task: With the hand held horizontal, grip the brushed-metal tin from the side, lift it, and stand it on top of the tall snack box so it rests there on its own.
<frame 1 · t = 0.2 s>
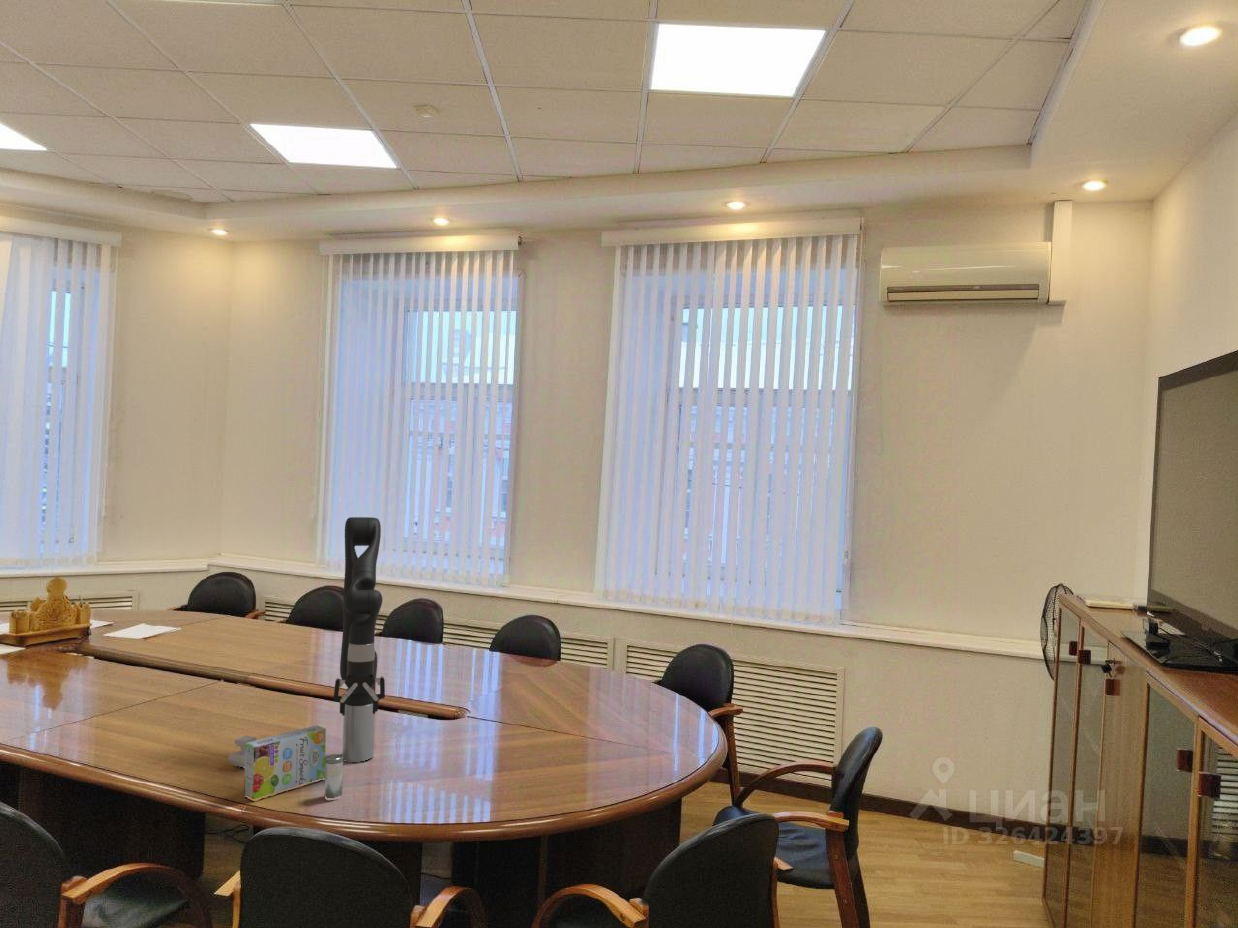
hand: (358, 713, 239), 18 cm above the table, tool pointing down, fingers open, 8 cm apart
snack box: (285, 789, 228), on the table
metal tin: (333, 797, 223), on the table
white blocky piece: (245, 766, 243), on the table
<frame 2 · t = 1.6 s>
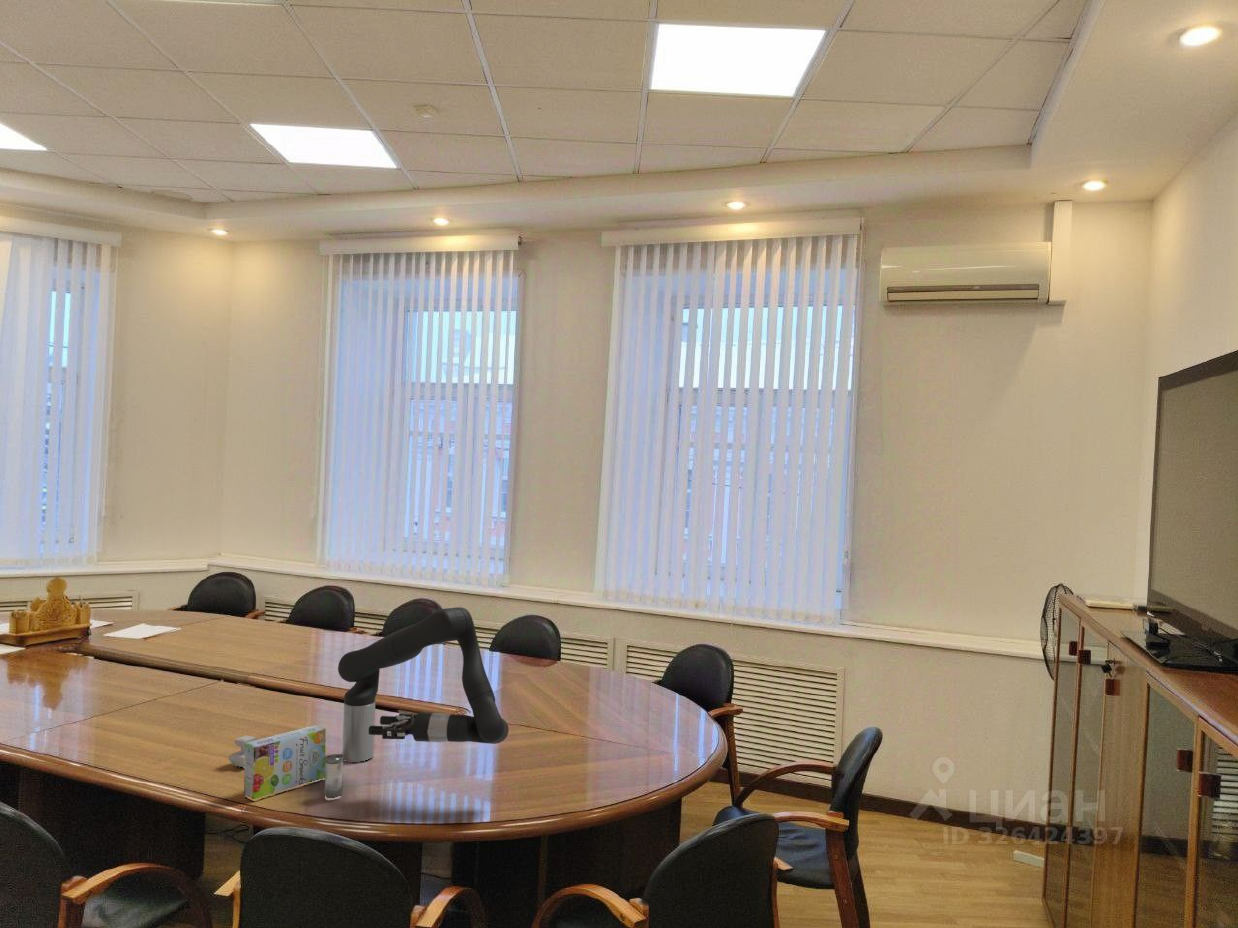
hand: (374, 724, 222), 20 cm above the table, tool horizontal, fingers open, 8 cm apart
nothing on the table moved.
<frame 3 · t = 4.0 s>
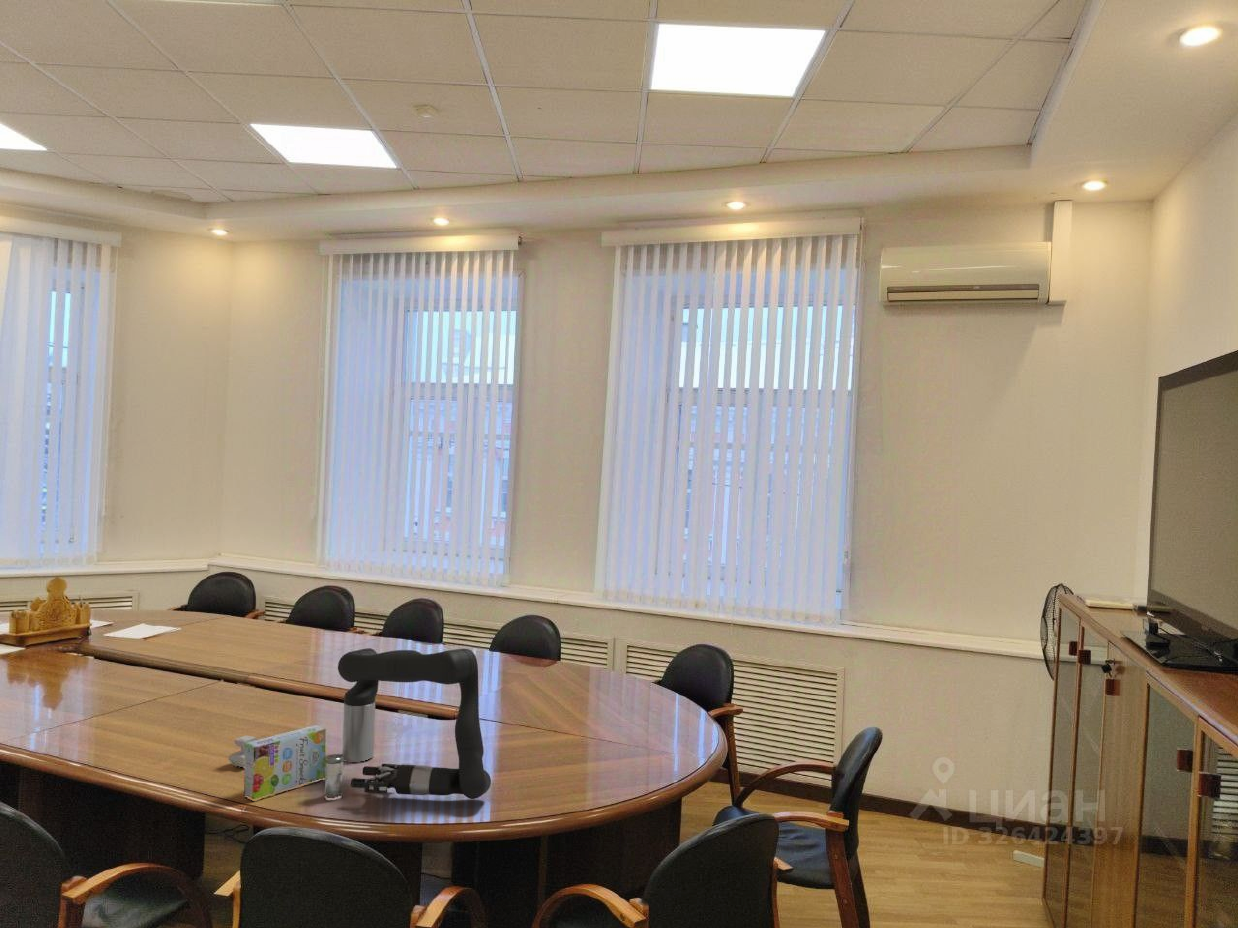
hand: (357, 776, 223), 6 cm above the table, tool horizontal, fingers open, 8 cm apart
nothing on the table moved.
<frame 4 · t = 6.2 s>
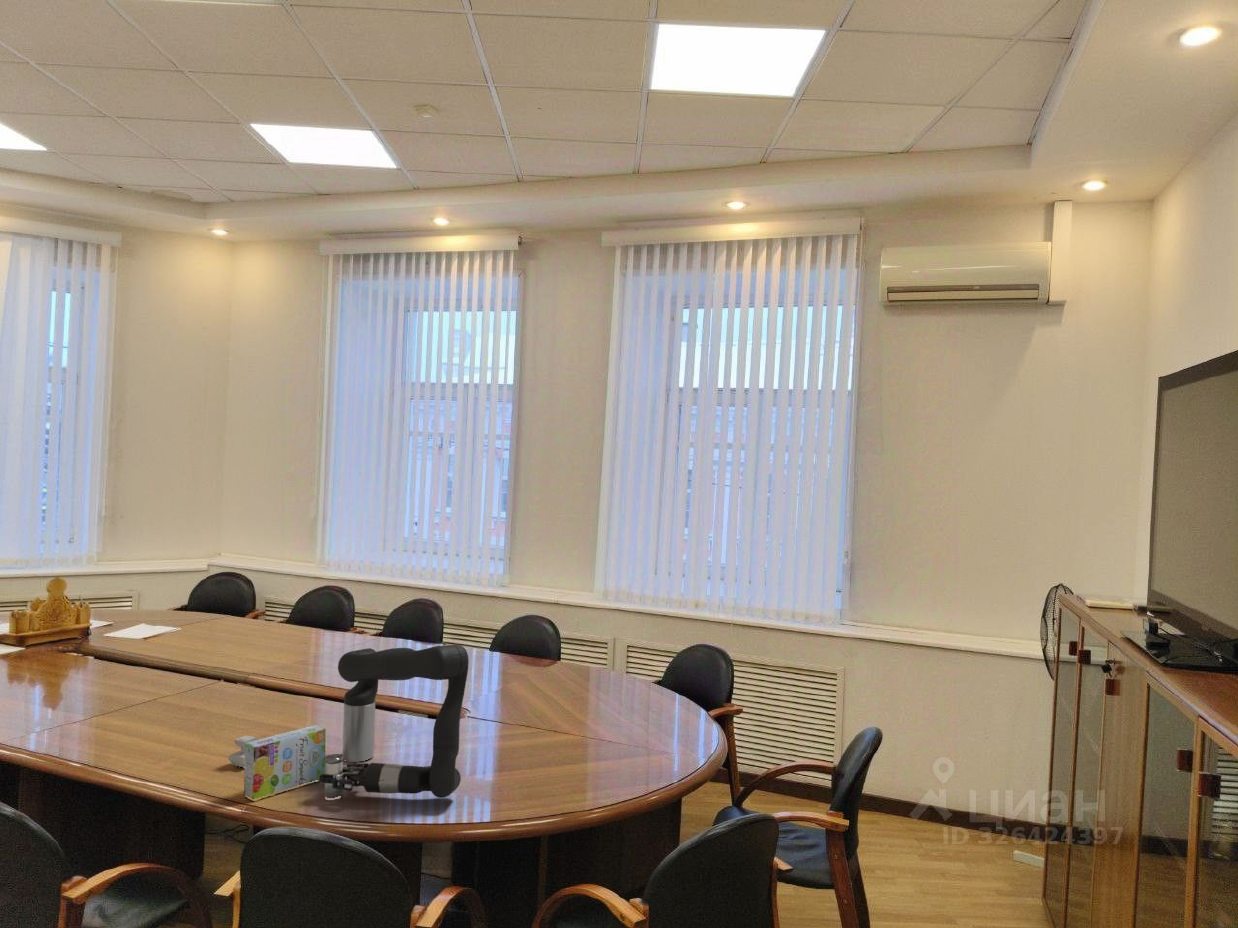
hand: (324, 774, 223), 6 cm above the table, tool horizontal, fingers closed on metal tin, 4 cm apart
metal tin: (333, 797, 223), on the table, touching gripper
everything else where it was.
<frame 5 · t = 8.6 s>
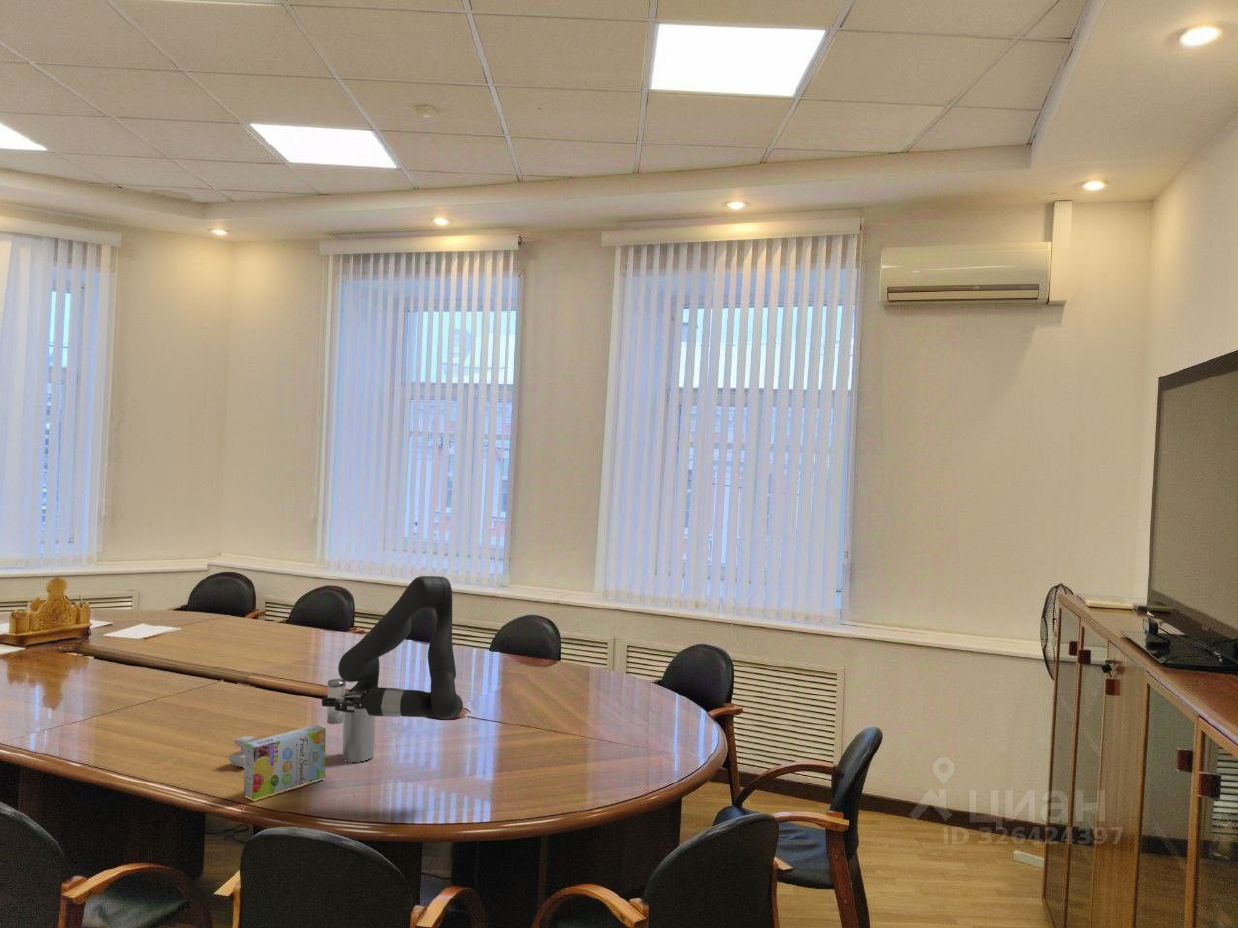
hand: (326, 698, 223), 27 cm above the table, tool horizontal, fingers closed on metal tin, 4 cm apart
metal tin: (335, 721, 223), point 21 cm above the table, touching gripper
everything else where it was.
when the fingers open (22 cm above the table, at t = 11.1 s): metal tin drops 1 cm, resting on snack box.
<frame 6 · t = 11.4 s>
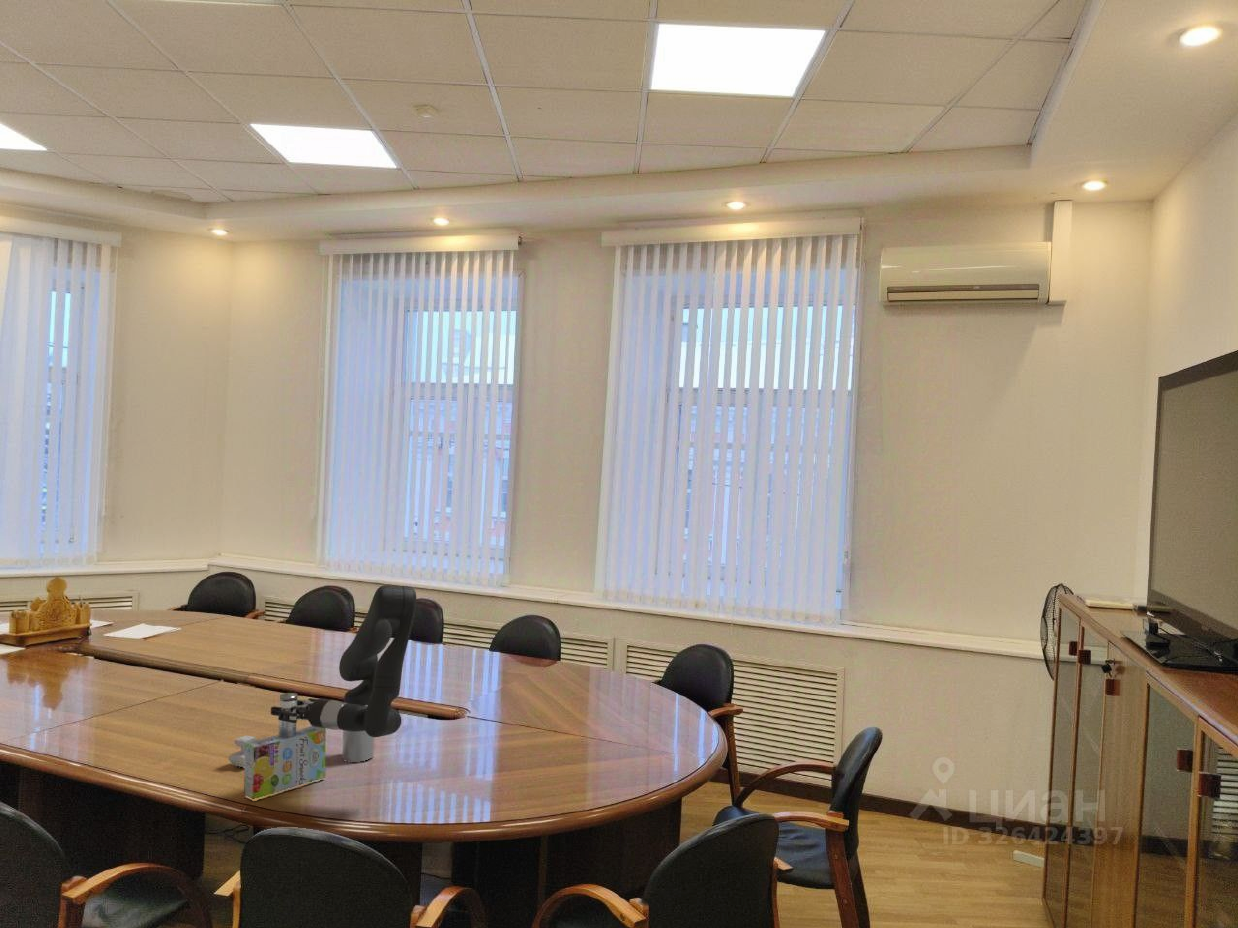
hand: (281, 706, 229), 23 cm above the table, tool horizontal, fingers open, 6 cm apart
snack box: (285, 789, 228), on the table, touching metal tin
metal tin: (287, 734, 228), point 15 cm above the table, touching snack box
everything else where it was.
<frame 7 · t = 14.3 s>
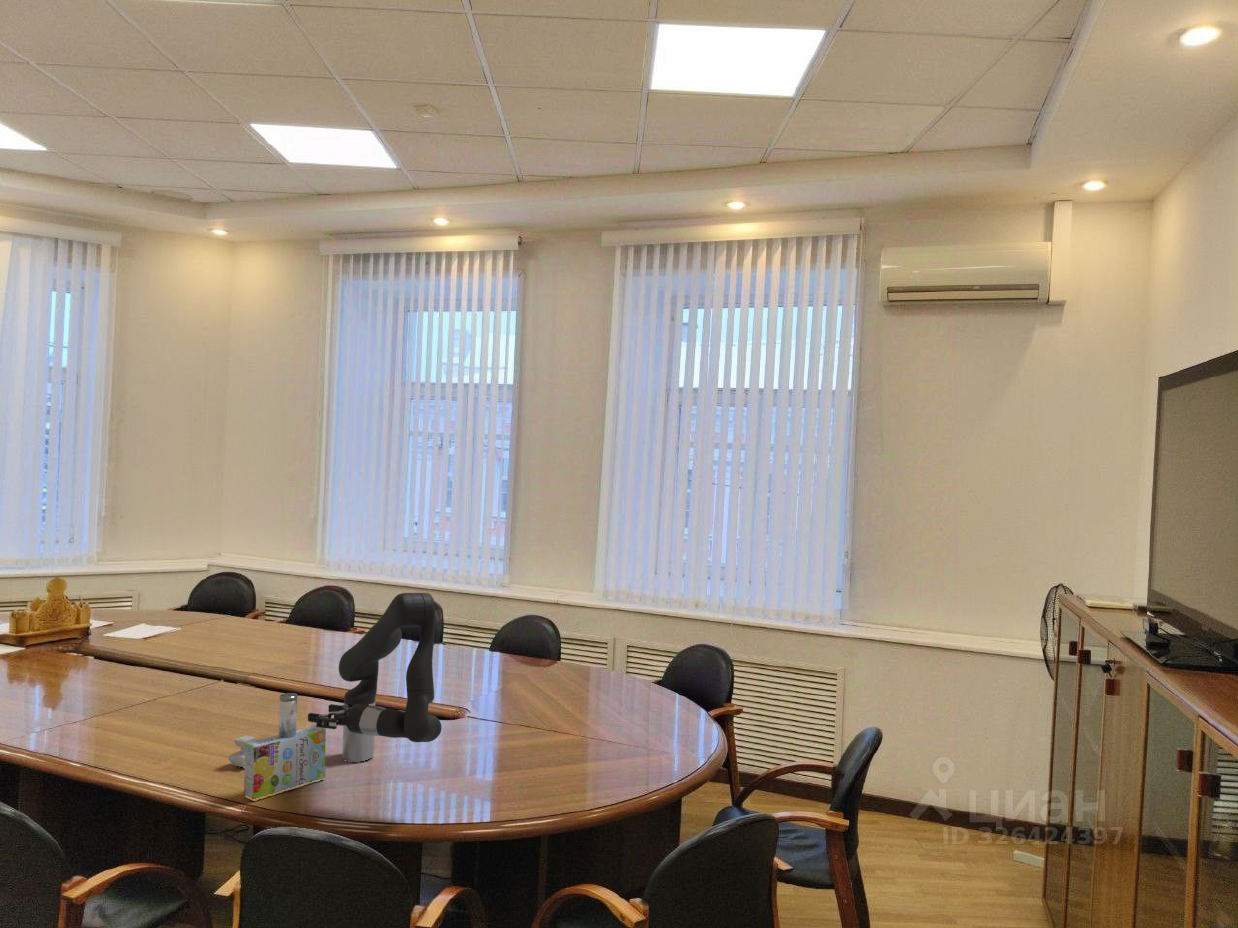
hand: (319, 712, 225), 23 cm above the table, tool horizontal, fingers open, 8 cm apart
nothing on the table moved.
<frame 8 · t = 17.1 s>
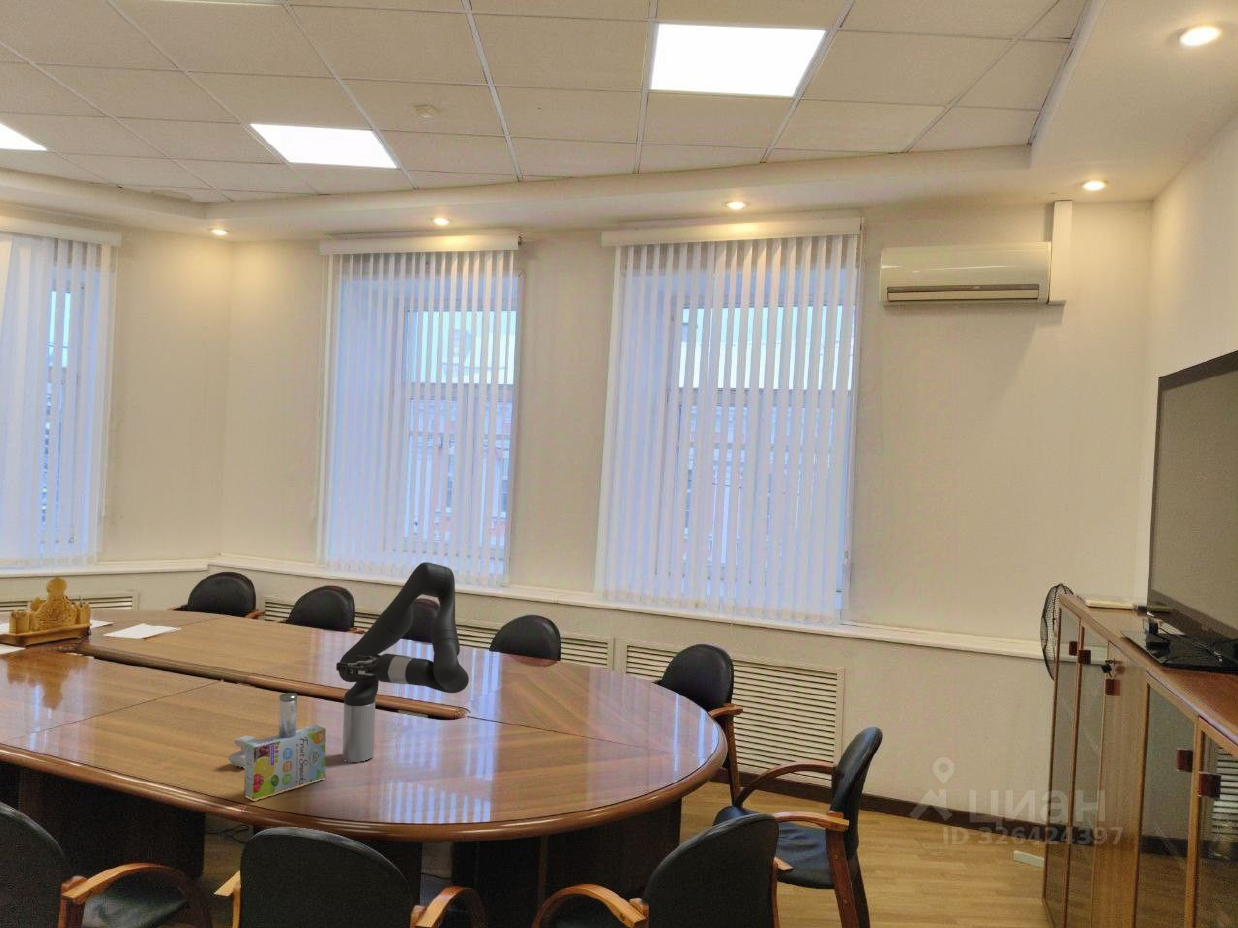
hand: (346, 662, 226), 36 cm above the table, tool horizontal, fingers open, 8 cm apart
nothing on the table moved.
at the end: metal tin 0.1 cm from the snack box (horizontally); metal tin point 15.0 cm above the table; metal tin tilted 0° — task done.
